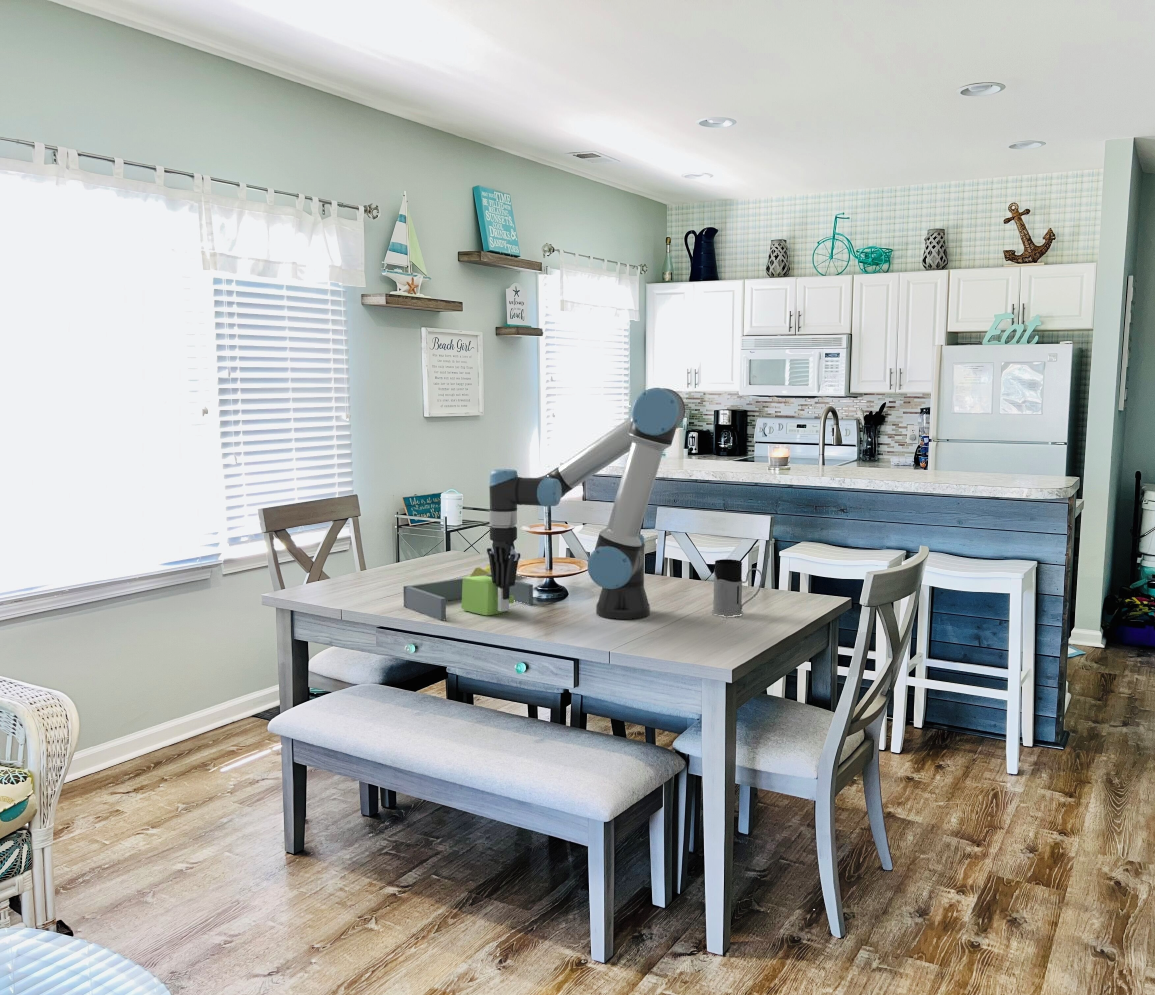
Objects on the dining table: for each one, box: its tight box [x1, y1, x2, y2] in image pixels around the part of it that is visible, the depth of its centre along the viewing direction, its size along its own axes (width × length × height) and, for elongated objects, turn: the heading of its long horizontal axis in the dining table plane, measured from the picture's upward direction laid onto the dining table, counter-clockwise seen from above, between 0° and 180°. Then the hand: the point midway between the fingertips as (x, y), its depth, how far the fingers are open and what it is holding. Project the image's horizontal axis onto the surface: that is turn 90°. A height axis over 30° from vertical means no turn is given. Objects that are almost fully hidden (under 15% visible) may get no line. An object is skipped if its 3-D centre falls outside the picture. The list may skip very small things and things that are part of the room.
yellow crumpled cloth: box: [469, 563, 491, 577], centre depth 312 cm, size 20×7×10 cm
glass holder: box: [711, 558, 763, 616], centre depth 263 cm, size 9×14×15 cm, turn 62°
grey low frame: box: [402, 574, 534, 621], centre depth 274 cm, size 21×31×6 cm
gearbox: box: [461, 576, 515, 616], centre depth 267 cm, size 18×10×10 cm, turn 49°
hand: (503, 610), depth 260 cm, fingers closed
